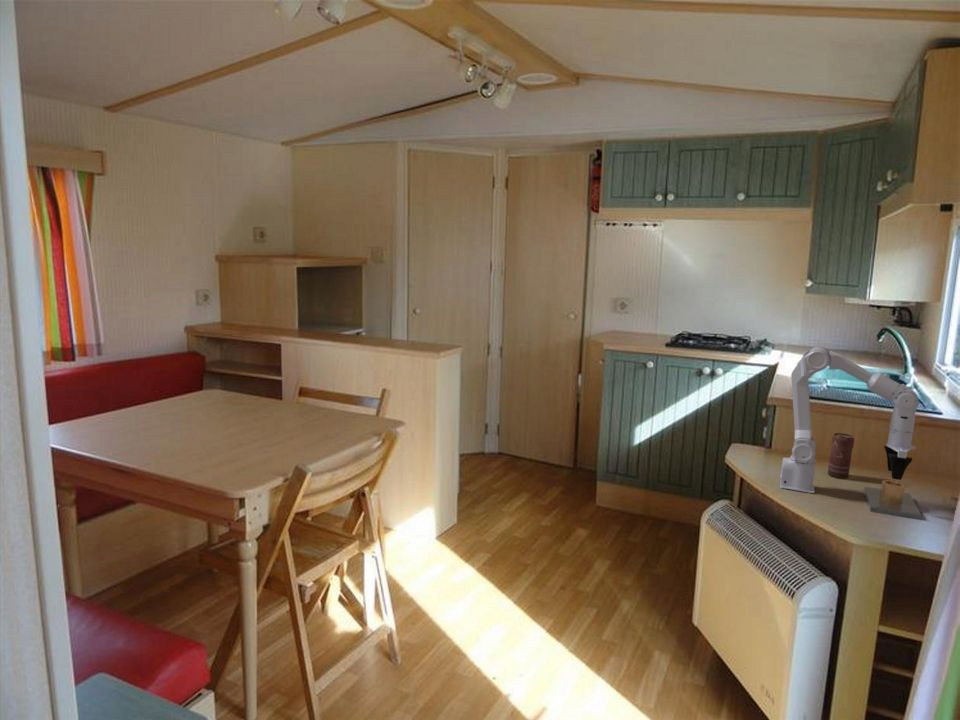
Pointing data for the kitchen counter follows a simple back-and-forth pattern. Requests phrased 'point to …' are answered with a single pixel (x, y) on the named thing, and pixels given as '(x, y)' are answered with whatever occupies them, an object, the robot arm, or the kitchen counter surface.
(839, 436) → the can
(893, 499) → the tan cup
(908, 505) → the piston jig
